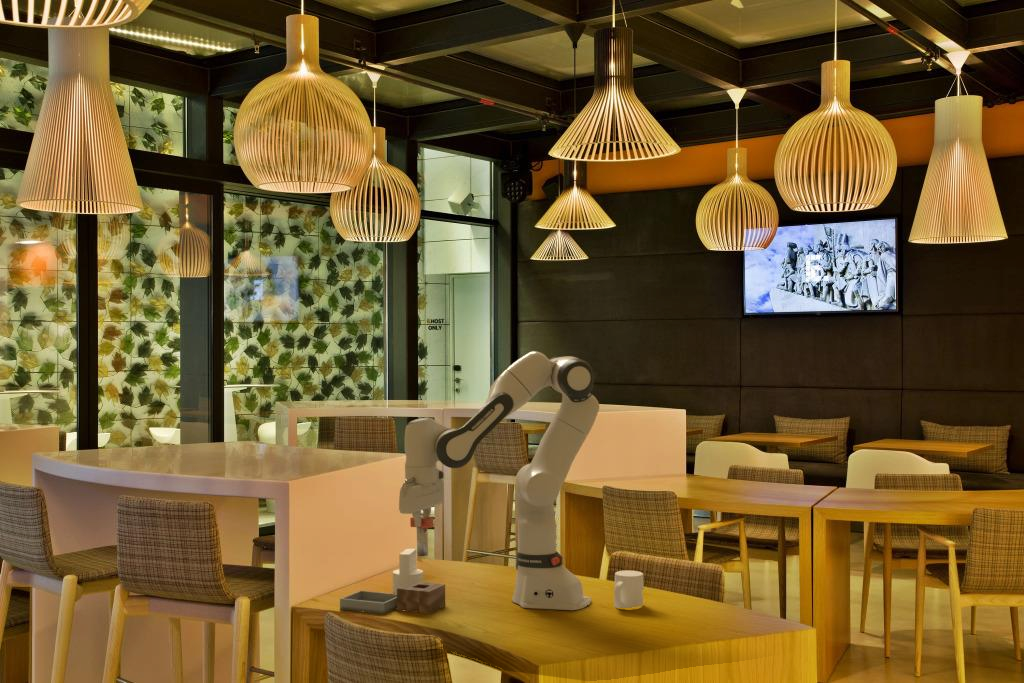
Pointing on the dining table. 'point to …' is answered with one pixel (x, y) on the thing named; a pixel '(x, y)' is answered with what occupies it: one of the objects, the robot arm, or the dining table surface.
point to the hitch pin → (422, 535)
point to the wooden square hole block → (420, 596)
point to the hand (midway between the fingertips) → (422, 525)
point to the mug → (628, 589)
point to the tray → (369, 602)
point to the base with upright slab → (406, 570)
